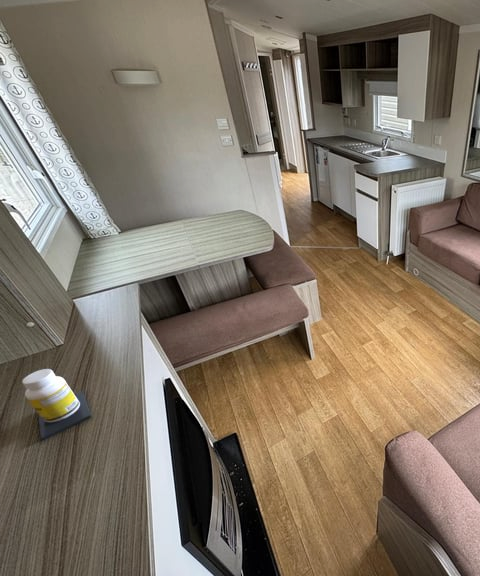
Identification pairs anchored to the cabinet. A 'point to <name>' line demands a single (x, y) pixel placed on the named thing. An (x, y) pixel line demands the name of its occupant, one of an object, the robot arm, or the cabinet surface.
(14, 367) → the cabinet surface
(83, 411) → the mat
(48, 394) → the supplement bottle
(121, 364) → the cabinet surface
